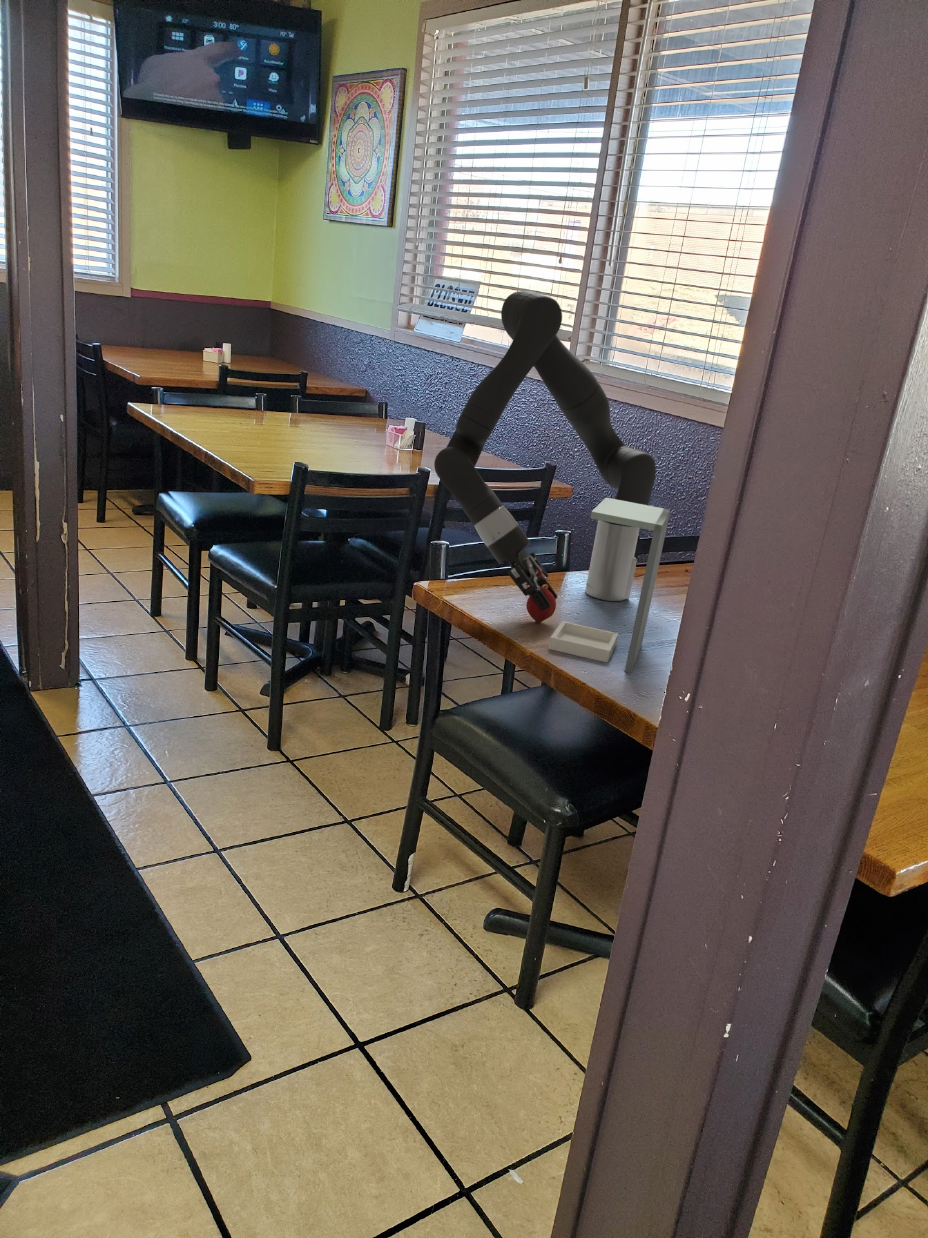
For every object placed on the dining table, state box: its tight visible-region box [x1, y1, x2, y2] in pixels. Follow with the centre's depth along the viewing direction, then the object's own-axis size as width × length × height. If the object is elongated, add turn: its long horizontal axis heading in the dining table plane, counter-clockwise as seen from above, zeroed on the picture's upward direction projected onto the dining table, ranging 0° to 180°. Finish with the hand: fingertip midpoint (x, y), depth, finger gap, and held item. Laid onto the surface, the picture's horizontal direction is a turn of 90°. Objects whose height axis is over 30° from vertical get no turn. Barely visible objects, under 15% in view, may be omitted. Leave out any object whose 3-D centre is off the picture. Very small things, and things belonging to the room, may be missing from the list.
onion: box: [526, 584, 557, 624], centre depth 184 cm, size 6×6×8 cm
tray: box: [548, 620, 619, 663], centre depth 175 cm, size 11×11×2 cm
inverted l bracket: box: [590, 497, 671, 674], centre depth 170 cm, size 12×16×27 cm
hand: (550, 604), depth 184 cm, fingers closed on onion, 6 cm apart
